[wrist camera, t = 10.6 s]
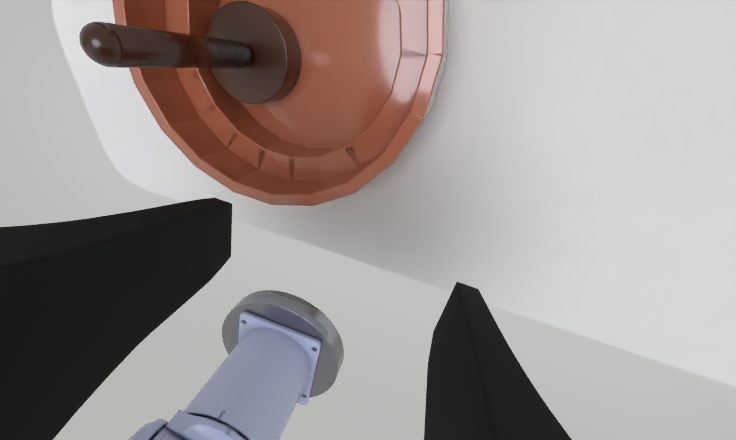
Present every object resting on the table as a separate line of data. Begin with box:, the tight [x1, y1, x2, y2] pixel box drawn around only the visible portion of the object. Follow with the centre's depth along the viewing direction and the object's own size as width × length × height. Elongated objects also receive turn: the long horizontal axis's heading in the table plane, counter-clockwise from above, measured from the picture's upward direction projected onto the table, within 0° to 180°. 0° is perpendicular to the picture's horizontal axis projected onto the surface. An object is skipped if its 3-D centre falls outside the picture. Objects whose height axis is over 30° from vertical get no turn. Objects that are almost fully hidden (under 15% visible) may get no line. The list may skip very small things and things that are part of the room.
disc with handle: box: [80, 1, 301, 104], centre depth 13 cm, size 5×5×9 cm
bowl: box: [113, 0, 448, 206], centre depth 15 cm, size 14×14×5 cm
